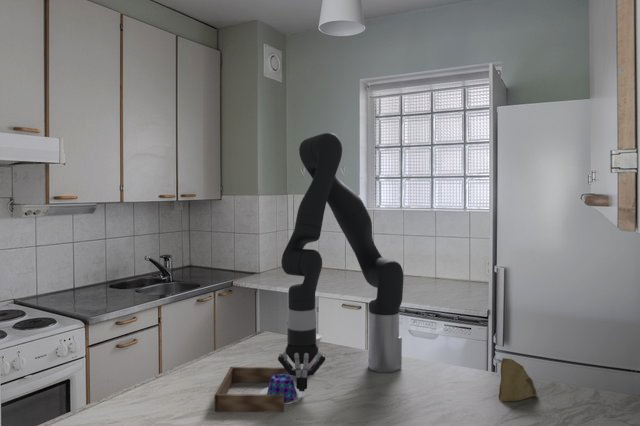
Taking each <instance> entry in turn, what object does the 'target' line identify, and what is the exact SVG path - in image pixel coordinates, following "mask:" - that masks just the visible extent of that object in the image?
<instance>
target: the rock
mask: <svg viewBox="0 0 640 426" xmlns="http://www.w3.org/2000/svg"><path fill="white" fill-rule="evenodd" d="M500 363H501V364H500V384H499V387H498V388H499V393H498V400H499V401H500V402H501V403H504V402H518V401H522V400H525V399H529V398H532V397H536V396H538V393H537V389H536V387H535V384H534V381H533V379H532V378H531V377H530V376H529V374H528V373H527V371H526V370H525V367H524V366H523V365H521V364H520V363H518V362H517V361H515V360H514V359H511V358H505V357H503V358H502V360H501V362H500Z"/></svg>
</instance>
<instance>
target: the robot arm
mask: <svg viewBox="0 0 640 426" xmlns="http://www.w3.org/2000/svg"><path fill="white" fill-rule="evenodd" d="M298 151H299V154H298V155H299V157H300V160H301V163H302V164H303V167H304V168H305V169H306V171H307V172H308V174H309V175H310V177H311V178H312V180H311V183H310V185H309V187H308V188H307V191H306V192H305V194H304V196H303V197H302V199H301V201H300V203H299V205H298V208H297V213H296V218H295V223H294V229H293V232H292V234H291V236H290V238H289V240H288V243H287V244H286V247H285V249H284V251H283V253H282V256H281V269H282V270H283V272H284V273H285V274H286V275H289V276H297V277H303V278H304V279H303V282H302V283H296V284H293V285H291V286H290V287H289V289H288V294H287V300H288V305H287V306H288V309H287V310H288V311H287V316H286V317H287V321H286V326H287V338H286V339H287V340H286V341H287V342H286V343H287V345H286V347H285V351H283V352H282V353H279V354H278V356H277V361H278V362H279V363H280V364H281V365H282V366H281V367H284V368H285V369H286V371H287V372H288V373H289V374H290V376H292V377H293V376H294V377H295V378H296V379H295V381H296V385H295V386H296V388H297V389H299V391H304V392H305V391H306V390H307V389H308V378H309V377H310V376H311V377H312V376H314V375H315V373H316V372H317V371H318V370H319V369H320V367H322V365H323V363H324V362H325V361H326V354H325V353H322V352H320V350H319V351H318V347H317V345H316V334H317V312H316V293H317V288H318V284H319V283H318V281H319V279H320V275H321V272H322V268H323V258H322V255H321V253H320V252H319V251H318V250H316V249H309V248H305V247H306V245H307V244H310V243H314V242H317V241H319V239H320V237H321V232H322V227H323V222H324V217H325V216H324V215H325V211H326V206H327V204H328V207H329V208H330V210H331V212H332V213H333V216H334V218H335V220H336V222H337V224H338V226H339V228H340V229H341V231H342V233H343V235H344V236H345V238H346V240H347V242H348V244H349V247H350V248H351V249H352V250H353V253H354V255H355V257H356V259H357V261H358V265H359V267H360V270H361V272H362V275H363V277H364V279H365V281H366V282H367V283H368V285H370V286H372V287H373V288H375V289H376V290H377V291H376V298H375V299H372V300H370V301H369V303H368V359H367V361H368V362H367V363H368V369H369V370H370V371H371V370H372V371H374V372H378V373H385V374H386V373H387V374H388V373H393V372H394V373H395V372H396V371H398V370H400V369H402V360H403V356H402V353H403V351H402V350H403V348H402V347H403V346H402V345H403V344H402V343H403V339H402V337H401V336H400V308H401V305H402V303H403V295H404V270H403V267H402V265H401V264H400V263H399V262H398V261H396V260H393V259H387V258H384V257H383V256H382V255H381V253H380V251H379V250H378V248H377V247H376V244H375V242H374V238H373V223H372V218H371V215H370V214H369V211H368V210H367V207H366V205H365V204H364V202H363V200H362V199H361V197H360V196H359V195H358V194H357V193H356V192H355V191H354V190H353V189H351V188H350V187H349V186H347V184H345V183H343V181H342V180H341V179H339V177H338V176H337V172H338V169H339V166H340V163H341V160H342V156H343V146H342V141H341V140H340V138H339V137H338V136H337V135H336V134H335V133H333V132H325V133H319V134H317V135H314V136H311V137H308V138H305V139H303V141H302V142H300V144H299V148H298ZM316 355H317V357H316V362H315V363H314V364H313V365H312V367H311V368H310V369H308V364H309V363H310V362H311V361H312V360H313V358H314V357H315V356H316ZM288 358H289V360H290V361H291V362H292V363H293V364H294V366H293V365H292V364H291V363H290V362H289V360H288ZM301 368H302V369H301Z"/></svg>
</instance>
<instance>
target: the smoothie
mask: <svg viewBox="0 0 640 426" xmlns="http://www.w3.org/2000/svg"><path fill="white" fill-rule="evenodd" d="M321 341H322V335H321V334H320V333H316V345H317V347H318V351H319V352H320V346H321V345H320V344H321ZM316 357H317V355H316V356H315V357H314V358H313V360H312V361H311V362H310V363H309V364H308V369H310V368H311V367H312V365H313V364H314V363H315V362H316Z"/></svg>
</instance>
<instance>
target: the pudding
mask: <svg viewBox="0 0 640 426" xmlns="http://www.w3.org/2000/svg"><path fill="white" fill-rule="evenodd" d="M268 383H269V384H268V386H267V387H265V388H263V389H262V390H260V392H259V393H258V394H269V395H284V405H289V404H293V403H297V402H299V401H301V400H302V399H304V397H305V395H306V394H305V391H299V389H297V388H296V385H295V381H294V378H293V375H292V376H291V375H287V374H277V375H274V376H272V378H271V380H270V382H268ZM295 398H296V399H295Z"/></svg>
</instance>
